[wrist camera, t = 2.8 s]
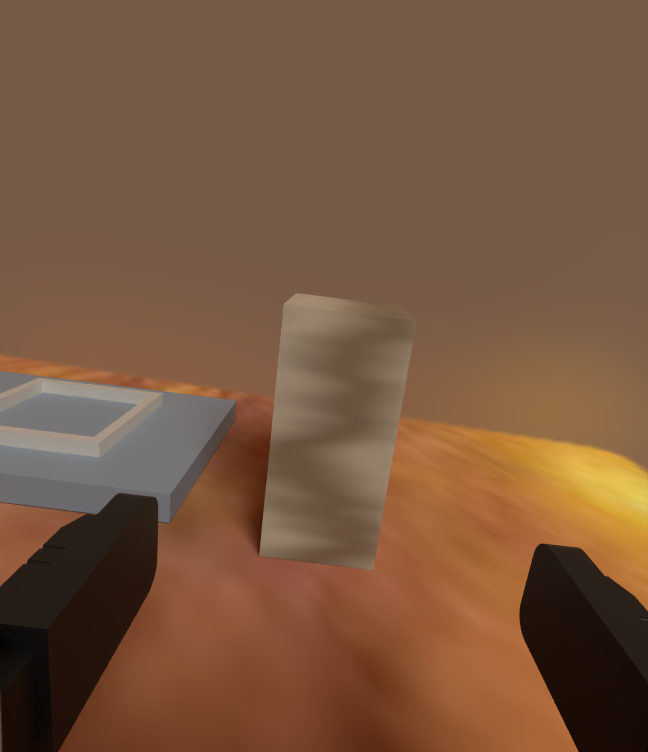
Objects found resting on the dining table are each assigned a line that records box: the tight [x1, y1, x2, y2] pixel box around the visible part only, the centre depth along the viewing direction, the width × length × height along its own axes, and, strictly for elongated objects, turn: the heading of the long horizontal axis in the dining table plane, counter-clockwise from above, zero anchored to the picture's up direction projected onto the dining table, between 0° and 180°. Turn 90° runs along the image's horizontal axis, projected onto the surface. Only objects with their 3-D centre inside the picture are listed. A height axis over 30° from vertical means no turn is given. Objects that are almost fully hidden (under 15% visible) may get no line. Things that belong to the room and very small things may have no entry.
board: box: [0, 371, 237, 523], centre depth 28 cm, size 18×14×2 cm
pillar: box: [259, 293, 417, 570], centre depth 21 cm, size 5×5×11 cm
